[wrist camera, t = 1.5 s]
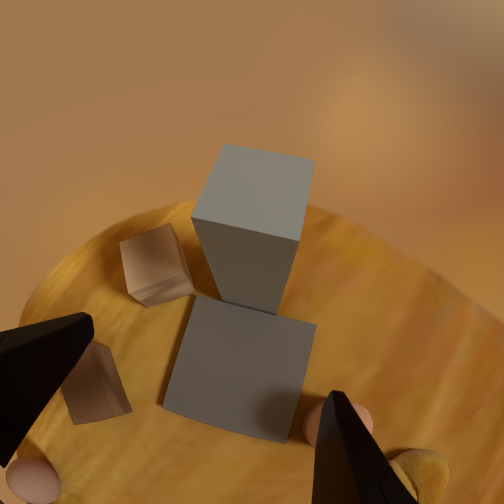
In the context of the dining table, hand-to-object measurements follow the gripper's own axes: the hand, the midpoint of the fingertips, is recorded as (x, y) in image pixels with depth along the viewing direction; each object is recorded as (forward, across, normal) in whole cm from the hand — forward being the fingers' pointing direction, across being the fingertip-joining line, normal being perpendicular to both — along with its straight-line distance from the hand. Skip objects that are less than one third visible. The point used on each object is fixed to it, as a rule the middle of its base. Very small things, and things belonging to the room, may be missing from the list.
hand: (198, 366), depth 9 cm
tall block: (+15, 0, +4) cm, 15 cm away
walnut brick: (+6, +10, +13) cm, 18 cm away
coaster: (+10, -1, +9) cm, 13 cm away
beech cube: (+14, +8, +5) cm, 17 cm away
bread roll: (+3, -18, +16) cm, 24 cm away
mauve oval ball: (-4, +14, +23) cm, 27 cm away
